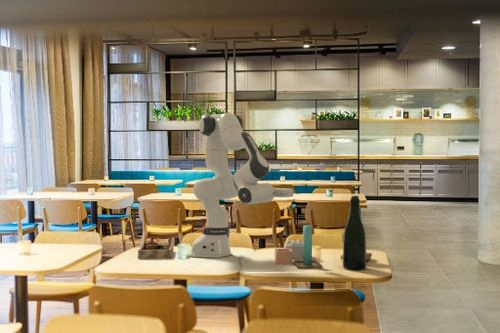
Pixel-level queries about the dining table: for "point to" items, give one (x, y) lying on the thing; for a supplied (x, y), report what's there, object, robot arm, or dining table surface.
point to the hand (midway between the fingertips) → (281, 191)
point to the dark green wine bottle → (354, 239)
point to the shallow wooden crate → (156, 252)
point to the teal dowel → (307, 245)
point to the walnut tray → (300, 266)
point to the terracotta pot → (283, 256)
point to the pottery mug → (152, 246)
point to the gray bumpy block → (295, 248)
